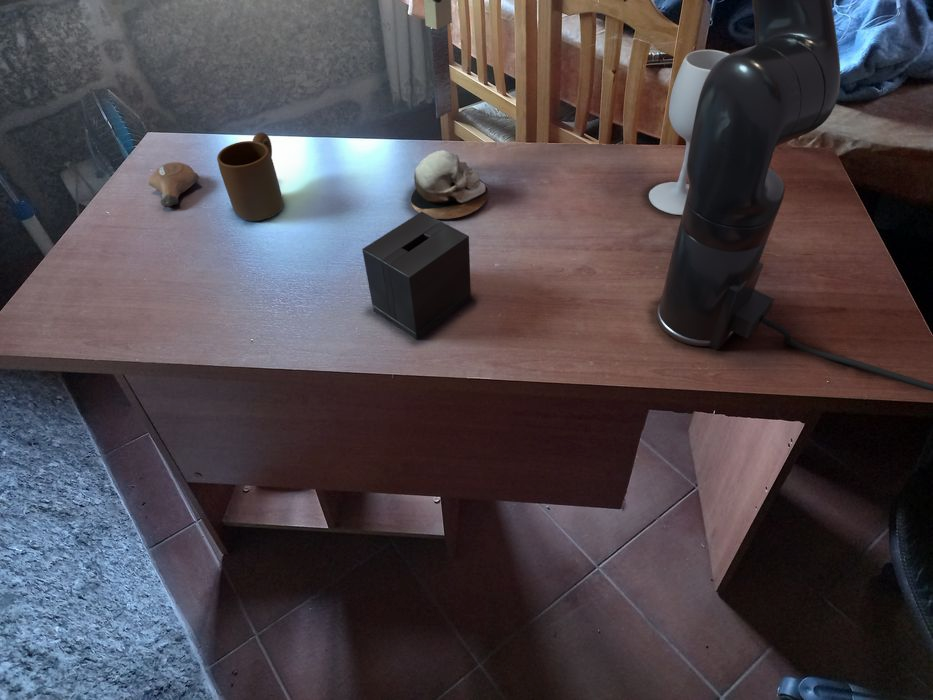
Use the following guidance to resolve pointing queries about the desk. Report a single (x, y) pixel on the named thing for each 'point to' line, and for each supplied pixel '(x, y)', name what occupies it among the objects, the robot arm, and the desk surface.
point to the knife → (440, 51)
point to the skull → (447, 187)
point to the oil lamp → (172, 181)
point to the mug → (251, 178)
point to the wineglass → (684, 122)
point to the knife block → (418, 273)
